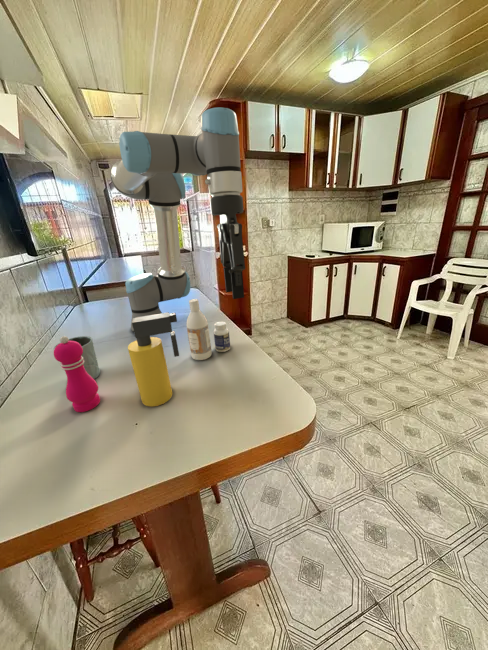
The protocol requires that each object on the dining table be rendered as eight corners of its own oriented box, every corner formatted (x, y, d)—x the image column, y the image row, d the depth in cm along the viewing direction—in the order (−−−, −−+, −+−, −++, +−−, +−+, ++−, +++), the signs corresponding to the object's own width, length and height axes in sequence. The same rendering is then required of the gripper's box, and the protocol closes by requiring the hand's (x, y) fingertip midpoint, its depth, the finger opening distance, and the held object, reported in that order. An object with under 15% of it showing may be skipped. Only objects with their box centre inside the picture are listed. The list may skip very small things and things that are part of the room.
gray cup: (104, 365, 90) (94, 333, 86) (100, 381, 81) (89, 346, 77) (70, 373, 87) (58, 340, 83) (63, 390, 78) (48, 354, 74)
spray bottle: (142, 391, 75) (122, 316, 66) (187, 381, 78) (174, 308, 69) (141, 409, 67) (119, 328, 59) (191, 397, 71) (176, 318, 62)
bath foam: (187, 358, 91) (177, 302, 83) (200, 349, 96) (192, 296, 89) (203, 362, 87) (195, 304, 80) (215, 353, 93) (208, 298, 85)
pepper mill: (68, 416, 67) (39, 345, 59) (76, 399, 73) (51, 333, 66) (99, 409, 69) (75, 339, 61) (104, 393, 75) (83, 328, 68)
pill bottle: (227, 353, 92) (224, 327, 89) (213, 351, 94) (209, 326, 90) (232, 346, 97) (230, 321, 93) (219, 344, 99) (216, 320, 95)
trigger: (173, 351, 71) (169, 331, 68) (178, 351, 71) (174, 330, 69) (174, 356, 68) (170, 335, 66) (179, 356, 68) (175, 334, 66)
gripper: (202, 199, 68) (213, 288, 76) (218, 191, 50) (230, 307, 59) (230, 198, 70) (238, 284, 78) (256, 189, 52) (261, 302, 61)
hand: (234, 294), depth 69 cm, fingers open, 6 cm apart
